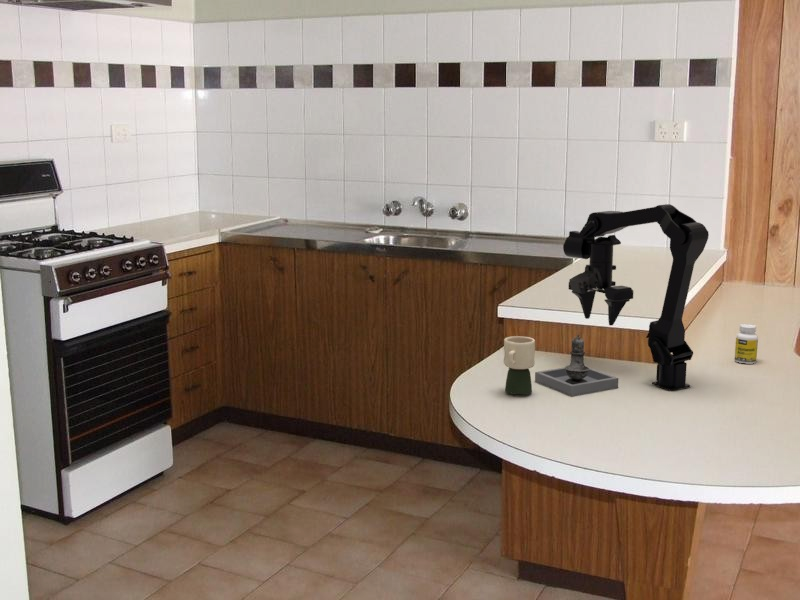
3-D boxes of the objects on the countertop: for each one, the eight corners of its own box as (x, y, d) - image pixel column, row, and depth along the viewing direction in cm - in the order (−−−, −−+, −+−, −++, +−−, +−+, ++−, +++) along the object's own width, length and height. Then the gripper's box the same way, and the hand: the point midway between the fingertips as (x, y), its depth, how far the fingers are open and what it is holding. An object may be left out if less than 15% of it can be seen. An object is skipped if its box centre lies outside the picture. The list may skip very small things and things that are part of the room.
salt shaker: (559, 380, 226) (561, 332, 224) (581, 378, 228) (583, 330, 226) (571, 386, 220) (573, 337, 218) (593, 384, 222) (595, 335, 220)
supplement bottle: (733, 363, 242) (736, 326, 241) (734, 358, 247) (737, 322, 245) (756, 365, 240) (758, 328, 239) (756, 360, 245) (759, 324, 243)
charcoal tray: (618, 388, 221) (618, 378, 221) (571, 396, 215) (571, 386, 214) (580, 374, 233) (580, 364, 233) (534, 381, 227) (535, 372, 226)
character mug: (513, 385, 224) (514, 333, 221) (541, 389, 220) (542, 336, 218) (494, 397, 215) (495, 342, 212) (523, 401, 211) (524, 346, 209)
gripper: (552, 259, 239) (551, 318, 242) (600, 269, 223) (598, 332, 226) (586, 255, 244) (584, 314, 247) (636, 265, 228) (633, 327, 231)
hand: (599, 321), depth 237 cm, fingers open, 9 cm apart
